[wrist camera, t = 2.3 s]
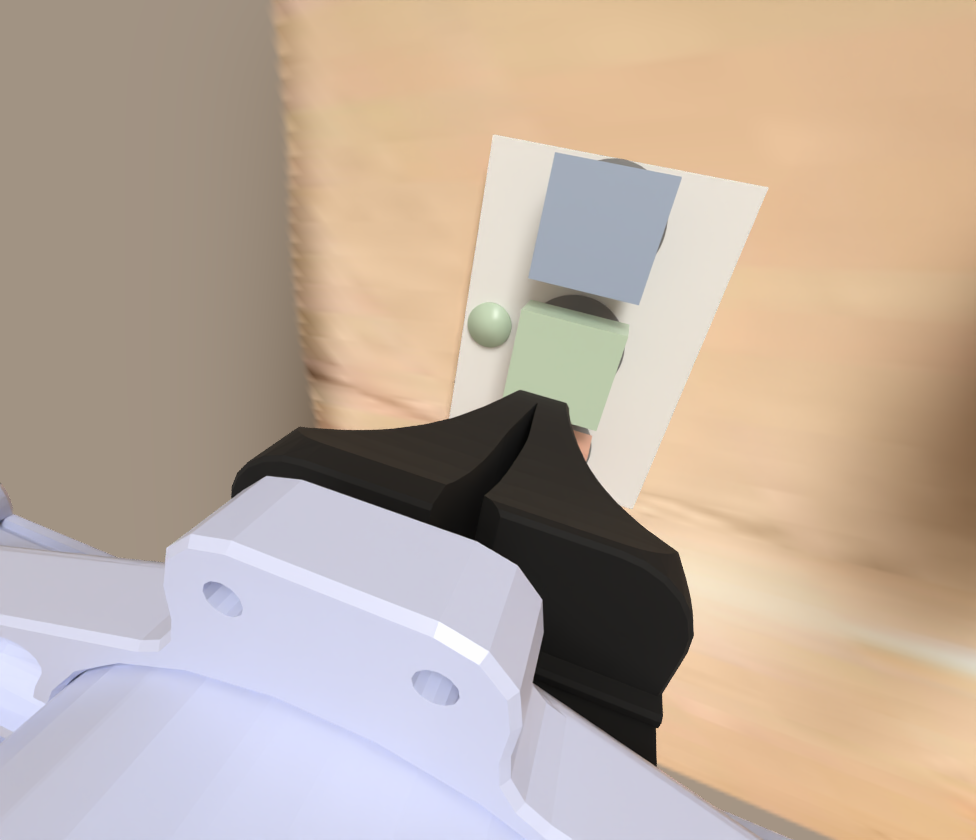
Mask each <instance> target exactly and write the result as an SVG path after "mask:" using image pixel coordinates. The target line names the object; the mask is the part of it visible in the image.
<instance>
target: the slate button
mask: <svg viewBox="0 0 976 840" xmlns="http://www.w3.org/2000/svg"><path fill="white" fill-rule="evenodd" d="M681 179H682V177H680V176H675V175H670V174H665V173H659V172H654V171H649V170H644V169H639V168H634V167H629V166H624V165H618V164H613V163H608V162H603V161H598V160H593V159H588V158H583V157H577V156H572V155H567V154H562V153H557V152H555V155H554V159H553V164H552V169H551V173H550V178H549V183H548V187H547V192H546V197H545V201H544V206H543V211H542V215H541V220H540V225H539V229H538V234H537V239H536V243H535V248H534V253H533V258H532V262H531V267H530V272H529V276H528V278H529V279H533V280H537V281H541V282H546V283H550V284H554V285H558V286H562V287H566V288H570V289H574V290H578V291H582V292H586V293H590V294H594V295H599V296H603V297H607V298H611V299H615V300H619V301H623V302H627V303H631V304H635V305H639V303H640V300H641V298H642V295H643V292H644V289H645V286H646V283H647V280H648V277H649V274H650V271H651V268H652V265H653V262H654V259H655V256H656V253H657V250H658V247H659V244H660V241H661V238H662V235H663V232H664V229H665V226H666V224H667V221H668V218H669V215H670V212H671V209H672V206H673V203H674V200H675V197H676V194H677V191H678V188H679V185H680V182H681Z"/></svg>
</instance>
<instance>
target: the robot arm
mask: <svg viewBox="0 0 976 840" xmlns="http://www.w3.org/2000/svg"><path fill="white" fill-rule="evenodd" d="M231 497H232V498H231V500H229V501H228V502H227V503H225V504H224V505H223V506H221V507H220V508H219V509H218V510H216V511H215V512H214V513H212V514H211V515H210V516H208V517H207V518H206V519H204V520H203V521H202V522H200V523H199V524H198V525H196V526H195V527H194V528H192V529H191V530H190V531H188V532H187V533H186V534H184V535H183V536H182V537H180V538H179V539H178V540H177V541H175V542H174V543H173V544H171V545H170V546H169V547H167V548H166V559H165V562H156V561H146V560H137V559H136V560H135V559H126V558H118V557H116V556H113V555H111V554H108V553H106V552H104V551H101V550H99V549H96V548H94V547H92V546H89V545H87V544H85V543H82V542H80V541H77V540H75V539H73V538H70V537H68V536H65V535H63V534H60V533H58V532H56V531H53V530H51V529H48V528H46V527H44V526H41V525H39V524H37V523H34V522H31V521H29V520H27V519H25V518H22V517H20V516H17V515H15V514H13V513H12V512H13V507H12V504H11V501H10V498H9V496H8V493H7V491H6V490H5V488H4V487H3V485H2V484H1V483H0V840H793V839H791V838H788V837H786V836H784V835H781V834H779V833H776V832H774V831H771V830H769V829H767V828H764V827H762V826H759V825H757V824H755V823H752V822H750V821H748V820H745V819H743V818H740V817H738V816H736V815H733V814H731V813H729V812H726V811H724V810H721V809H719V808H716V807H714V806H713V805H712V804H710V803H709V802H707V801H706V800H704V799H703V798H701V797H700V796H698V795H697V794H696V793H694V792H693V791H691V790H690V789H688V788H687V787H685V786H684V785H682V784H681V783H679V782H678V781H676V780H675V779H673V778H672V777H671V776H669V775H668V774H666V773H665V772H663V771H662V770H660V769H659V768H657V759H656V728H658V727H659V726H660V724H661V722H662V717H663V708H662V693H663V691H664V690H665V688H666V687H667V685H668V683H669V682H670V680H671V679H672V677H673V675H674V674H675V672H676V670H677V669H678V667H679V666H680V664H681V662H682V661H683V659H684V658H685V656H686V654H687V652H688V650H689V647H690V644H691V642H692V639H693V636H694V632H693V611H692V604H691V598H690V593H689V589H688V585H687V581H686V577H685V574H684V570H683V567H682V563H681V560H680V556H679V553H678V552H677V551H676V550H674V549H673V548H672V547H670V546H669V545H667V544H666V543H665V542H663V541H662V540H661V539H659V538H658V537H656V536H655V535H654V534H652V533H651V532H649V531H648V530H647V529H645V528H644V527H643V526H642V525H640V524H639V523H638V522H637V521H636V520H635V519H634V518H633V517H631V516H630V515H629V514H628V513H627V512H626V511H625V510H624V509H623V508H622V507H621V506H620V505H619V504H618V503H617V502H616V501H615V500H614V499H613V498H612V497H611V495H610V494H609V493H608V492H607V491H606V490H605V489H604V487H603V486H602V485H601V484H600V482H599V481H598V480H597V478H596V477H595V475H594V474H593V472H592V471H591V469H590V468H589V466H588V464H587V462H586V460H585V458H584V456H583V454H582V452H581V450H580V448H579V445H578V443H577V440H576V437H575V434H574V431H573V428H572V424H571V420H570V415H569V407H568V405H567V403H565V402H561V401H558V400H555V399H551V398H548V397H544V396H541V395H537V394H534V393H530V392H527V391H523V390H518V391H516V392H513V393H511V394H509V395H507V396H505V397H503V398H501V399H499V400H497V401H495V402H492V403H490V404H488V405H486V406H484V407H481V408H478V409H476V410H473V411H470V412H468V413H465V414H462V415H460V416H457V417H453V418H450V419H446V420H443V421H438V422H434V423H429V424H424V425H418V426H410V427H403V428H395V429H383V430H334V429H319V428H305V427H298V428H297V429H295V430H294V431H292V432H291V433H289V434H288V435H287V436H285V437H283V438H282V439H281V440H279V441H278V442H276V443H275V444H273V445H272V446H271V447H269V448H268V449H266V450H265V451H263V452H262V453H260V454H259V455H257V456H256V457H255V458H253V459H252V460H250V461H249V462H248V463H247V464H246V465H245V466H244V467H243V468H242V469H241V470H240V471H239V472H238V473H237V475H236V477H235V480H234V483H233V485H232V496H231Z"/></svg>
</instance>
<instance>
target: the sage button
mask: <svg viewBox="0 0 976 840" xmlns="http://www.w3.org/2000/svg"><path fill="white" fill-rule="evenodd" d="M628 335H629V324H625V323H621V322H617V321H614V320H610V319H606V318H602V317H598V316H594V315H590V314H586V313H582V312H578V311H574V310H570V309H566V308H562V307H558V306H554V305H550V304H546V303H542V302H538V301H535V300H530V301H529V302H528V303H527V304H526V305H525V306H524V307H523V308H522V309H521V314H520V318H519V323H518V328H517V332H516V337H515V342H514V346H513V351H512V356H511V360H510V365H509V370H508V374H507V379H506V384H505V389H504V393H503V397H505V396H507V395H509V394H511V393H513V392H516V391H518V390H523V391H527V392H530V393H534V394H537V395H541V396H544V397H548V398H551V399H555V400H558V401H561V402H565V403H567V405H568V407H569V415H570V420H571V424H574V425H577V426H580V427H584V428H587V429H591V430H594V431H597V428H598V425H599V422H600V419H601V416H602V413H603V410H604V407H605V404H606V401H607V398H608V395H609V392H610V389H611V386H612V383H613V380H614V377H615V375H616V372H617V369H618V366H619V363H620V360H621V357H622V354H623V351H624V348H625V345H626V342H627V339H628Z"/></svg>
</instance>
